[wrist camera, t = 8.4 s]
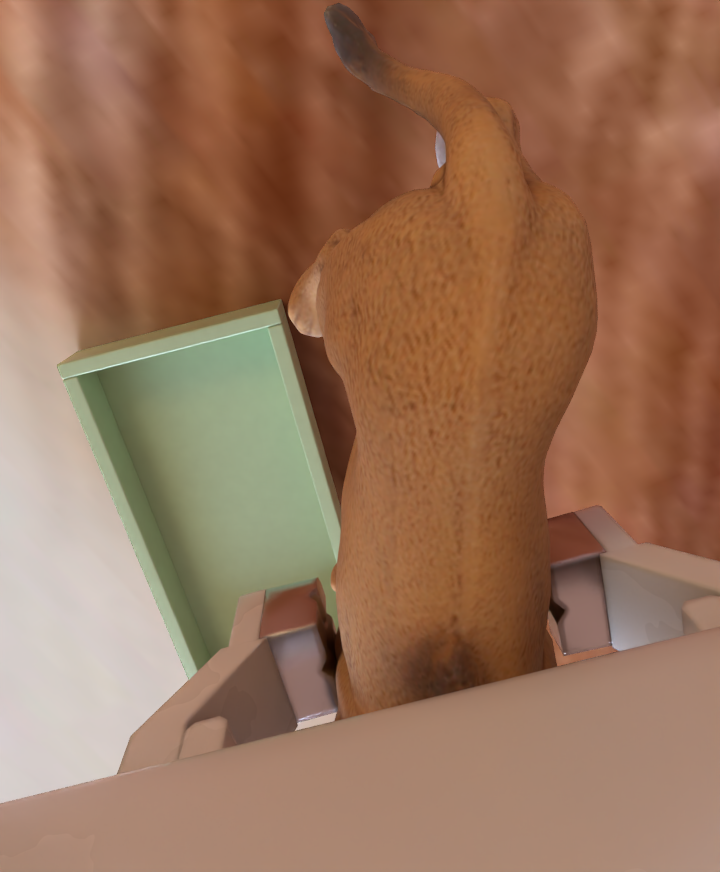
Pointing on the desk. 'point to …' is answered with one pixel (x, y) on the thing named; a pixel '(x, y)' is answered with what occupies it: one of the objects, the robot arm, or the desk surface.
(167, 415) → the tray
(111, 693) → the desk surface
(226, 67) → the desk surface
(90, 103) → the desk surface
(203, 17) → the desk surface
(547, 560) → the lion figurine
